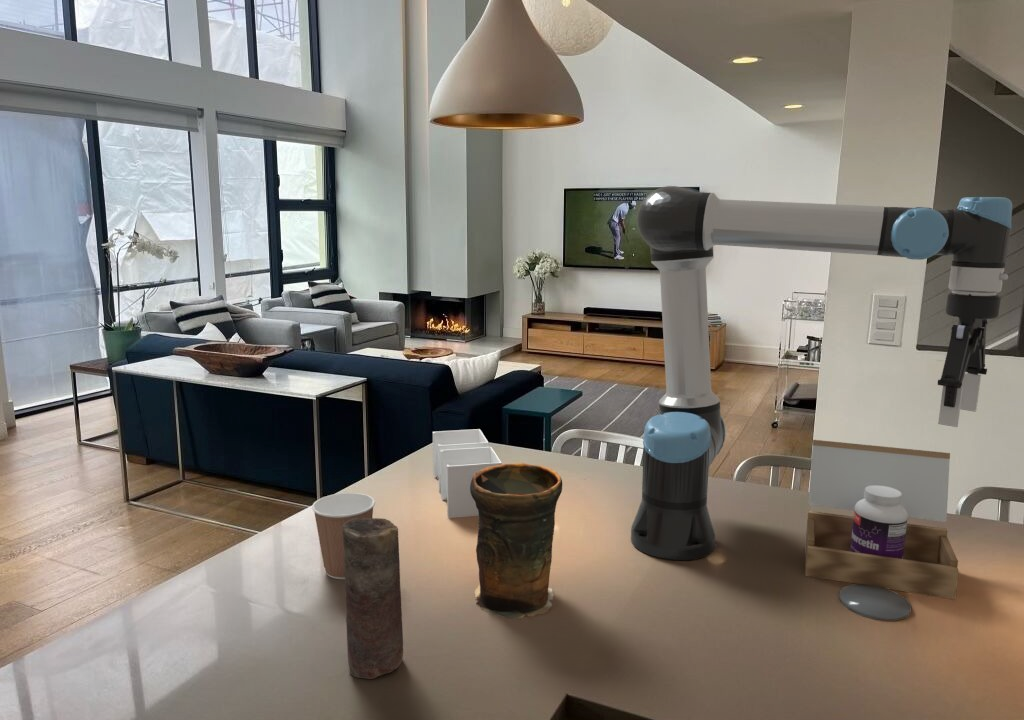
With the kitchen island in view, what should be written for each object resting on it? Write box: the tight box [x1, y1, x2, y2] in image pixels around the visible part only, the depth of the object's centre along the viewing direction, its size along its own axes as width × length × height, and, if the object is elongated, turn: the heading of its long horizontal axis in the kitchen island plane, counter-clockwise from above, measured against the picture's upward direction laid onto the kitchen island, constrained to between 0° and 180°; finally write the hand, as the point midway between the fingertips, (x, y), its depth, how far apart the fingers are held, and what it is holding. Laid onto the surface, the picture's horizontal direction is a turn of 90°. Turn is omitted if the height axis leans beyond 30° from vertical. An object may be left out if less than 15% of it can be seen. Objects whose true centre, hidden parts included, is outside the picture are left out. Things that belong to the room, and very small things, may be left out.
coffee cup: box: [311, 492, 376, 580], centre depth 126 cm, size 10×10×12 cm
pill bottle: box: [850, 485, 909, 559], centre depth 126 cm, size 8×8×14 cm
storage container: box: [432, 428, 503, 519], centre depth 162 cm, size 25×11×11 cm, turn 13°
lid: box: [808, 439, 951, 523], centre depth 133 cm, size 22×12×1 cm
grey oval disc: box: [839, 584, 912, 621], centre depth 117 cm, size 10×10×1 cm
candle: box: [343, 517, 404, 680], centre depth 99 cm, size 8×7×20 cm
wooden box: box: [804, 510, 959, 600], centre depth 127 cm, size 22×12×7 cm, turn 69°
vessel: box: [470, 462, 563, 620], centre depth 117 cm, size 14×14×20 cm
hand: (957, 417), depth 127 cm, fingers open, 13 cm apart
